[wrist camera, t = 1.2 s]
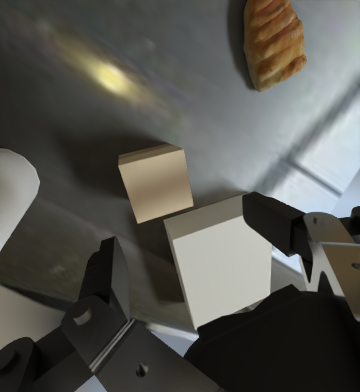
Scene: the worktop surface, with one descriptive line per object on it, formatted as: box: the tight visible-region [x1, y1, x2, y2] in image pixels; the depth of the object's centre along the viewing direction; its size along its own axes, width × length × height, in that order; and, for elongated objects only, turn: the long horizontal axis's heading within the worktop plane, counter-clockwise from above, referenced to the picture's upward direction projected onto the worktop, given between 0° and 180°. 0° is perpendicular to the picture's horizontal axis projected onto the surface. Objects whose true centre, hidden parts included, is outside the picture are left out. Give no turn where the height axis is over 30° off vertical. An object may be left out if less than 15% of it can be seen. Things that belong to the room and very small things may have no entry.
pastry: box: [243, 0, 307, 92], centre depth 20 cm, size 9×7×4 cm
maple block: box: [118, 143, 193, 223], centre depth 20 cm, size 6×6×6 cm
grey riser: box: [163, 192, 272, 330], centre depth 28 cm, size 18×14×5 cm
